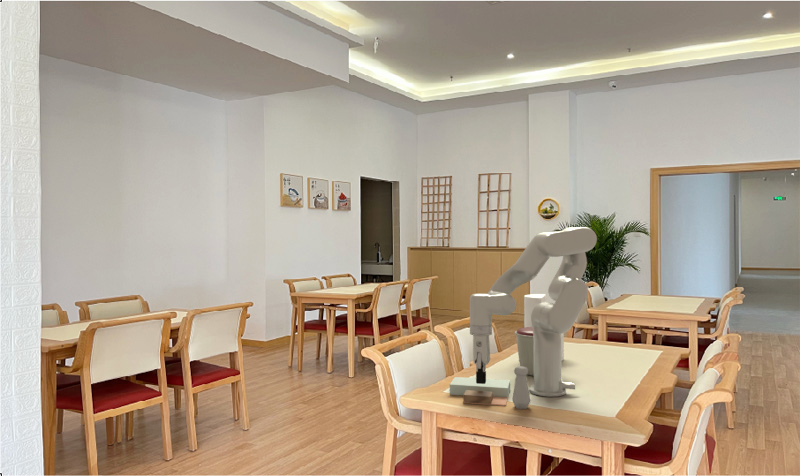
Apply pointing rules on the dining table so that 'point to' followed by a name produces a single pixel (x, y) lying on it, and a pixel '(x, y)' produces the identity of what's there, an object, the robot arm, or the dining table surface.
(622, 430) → the dining table surface
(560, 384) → the robot arm
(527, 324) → the white tall block
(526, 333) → the canister
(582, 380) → the dining table surface
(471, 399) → the brown wooden block
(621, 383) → the dining table surface
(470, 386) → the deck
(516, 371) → the salt shaker
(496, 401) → the mat
